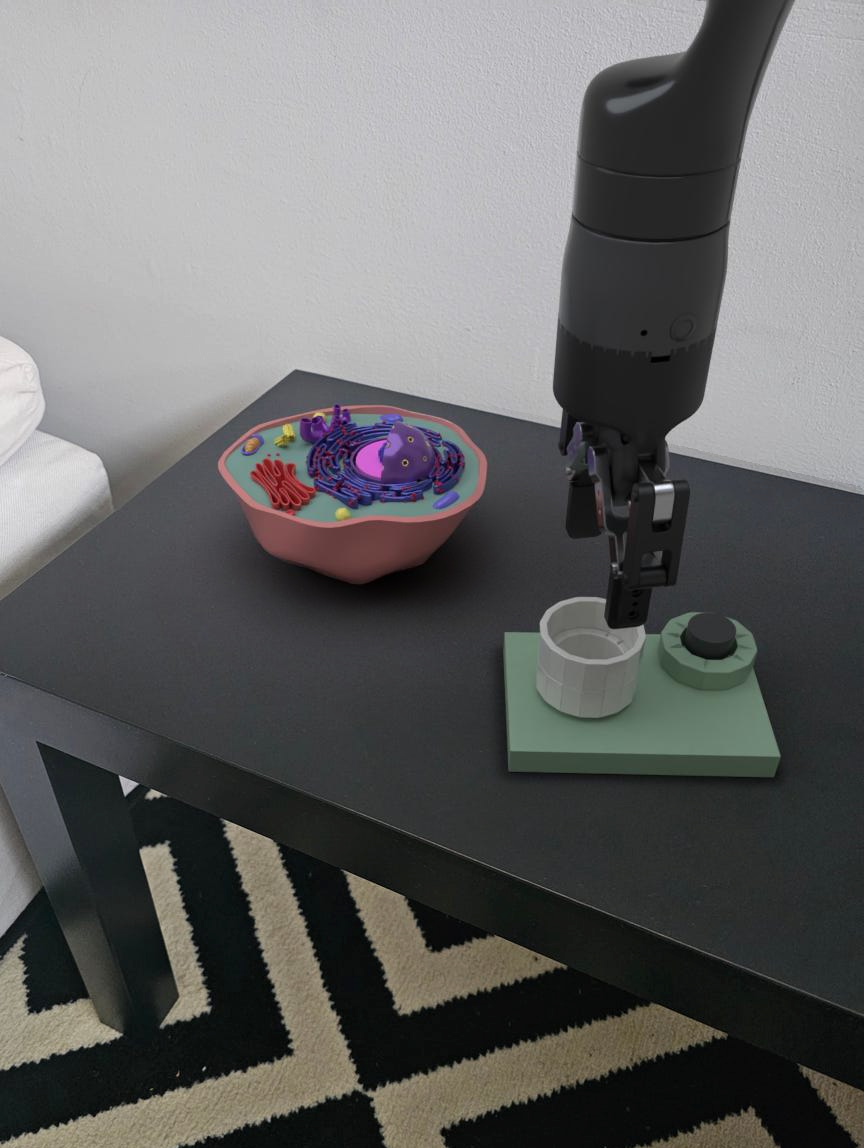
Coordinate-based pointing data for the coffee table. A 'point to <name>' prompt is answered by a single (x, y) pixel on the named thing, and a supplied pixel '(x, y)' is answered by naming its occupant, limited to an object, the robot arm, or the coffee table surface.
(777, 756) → the scale
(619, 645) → the white cup
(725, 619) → the button
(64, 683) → the coffee table surface
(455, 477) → the cell model
